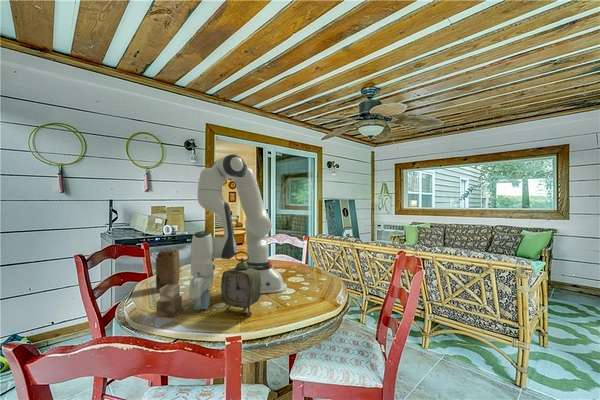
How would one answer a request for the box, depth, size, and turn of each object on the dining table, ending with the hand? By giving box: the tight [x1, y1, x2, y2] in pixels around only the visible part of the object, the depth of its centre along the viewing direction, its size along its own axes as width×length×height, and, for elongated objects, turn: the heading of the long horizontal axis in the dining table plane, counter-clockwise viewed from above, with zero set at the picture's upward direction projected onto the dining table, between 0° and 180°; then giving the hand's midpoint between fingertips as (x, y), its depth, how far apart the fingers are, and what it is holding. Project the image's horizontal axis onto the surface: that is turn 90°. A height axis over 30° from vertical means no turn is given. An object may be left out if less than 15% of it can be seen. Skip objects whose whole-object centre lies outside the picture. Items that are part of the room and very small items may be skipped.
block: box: [155, 248, 181, 289], centre depth 147 cm, size 11×8×20 cm
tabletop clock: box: [220, 250, 262, 317], centre depth 116 cm, size 14×9×25 cm, turn 66°
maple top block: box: [159, 284, 181, 302], centre depth 114 cm, size 6×6×5 cm
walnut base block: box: [156, 295, 183, 318], centre depth 114 cm, size 7×7×6 cm
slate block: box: [193, 289, 211, 311], centre depth 120 cm, size 5×5×7 cm
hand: (201, 302), depth 120 cm, fingers closed on slate block, 5 cm apart
